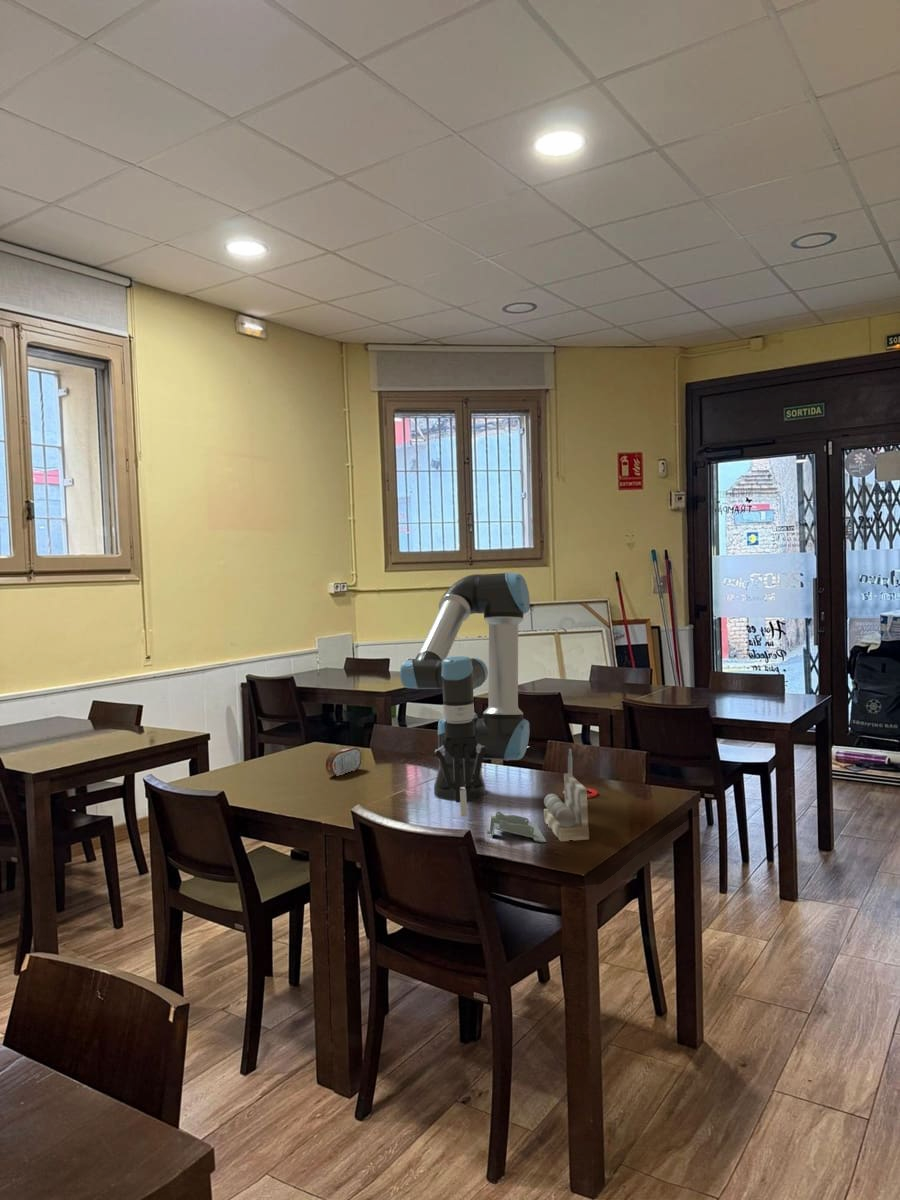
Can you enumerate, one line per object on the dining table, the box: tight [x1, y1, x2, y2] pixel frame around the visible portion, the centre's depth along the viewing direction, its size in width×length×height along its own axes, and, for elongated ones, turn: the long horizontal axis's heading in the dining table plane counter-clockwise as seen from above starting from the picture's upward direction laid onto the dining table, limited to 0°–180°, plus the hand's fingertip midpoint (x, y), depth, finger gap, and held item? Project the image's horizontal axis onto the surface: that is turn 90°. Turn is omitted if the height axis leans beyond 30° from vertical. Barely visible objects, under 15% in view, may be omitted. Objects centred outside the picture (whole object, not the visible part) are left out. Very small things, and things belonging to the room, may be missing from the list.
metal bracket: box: [486, 810, 547, 843], centre depth 203 cm, size 14×6×15 cm
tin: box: [325, 746, 362, 777], centre depth 271 cm, size 15×3×8 cm, turn 144°
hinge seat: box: [543, 772, 590, 842], centre depth 205 cm, size 17×7×12 cm, turn 7°
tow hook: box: [561, 748, 599, 797], centre depth 236 cm, size 8×13×9 cm
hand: (463, 814), depth 203 cm, fingers closed
